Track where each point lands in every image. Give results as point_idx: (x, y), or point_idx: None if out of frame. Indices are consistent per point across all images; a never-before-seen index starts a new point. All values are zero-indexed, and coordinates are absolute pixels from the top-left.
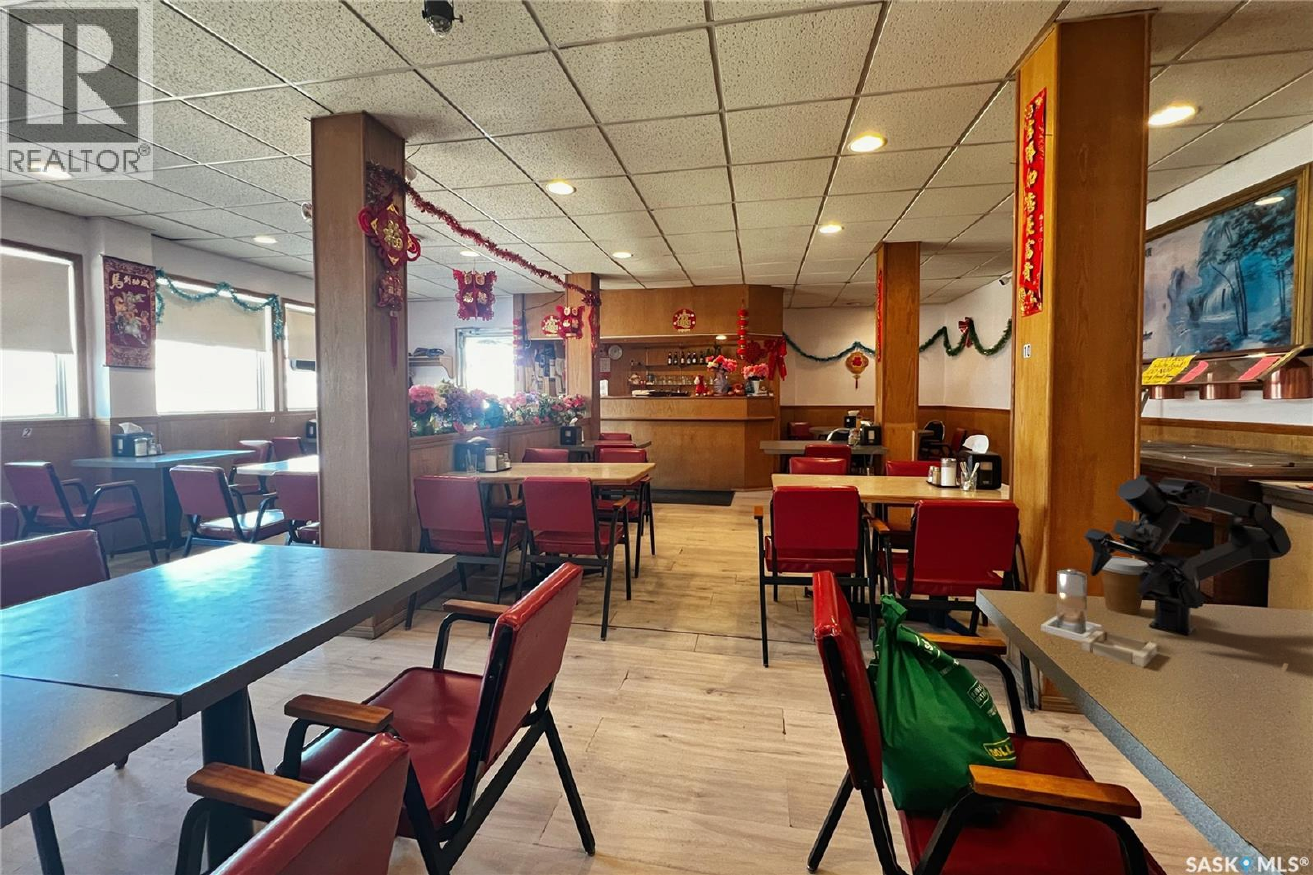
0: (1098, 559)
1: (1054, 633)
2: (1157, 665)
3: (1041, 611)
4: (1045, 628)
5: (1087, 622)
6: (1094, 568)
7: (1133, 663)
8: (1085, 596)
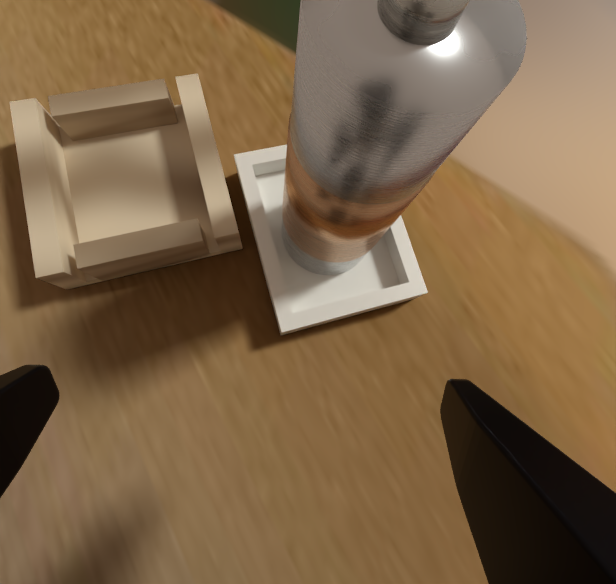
0: (587, 549)
1: None
2: None
3: (517, 355)
4: None
5: (323, 308)
6: (482, 417)
7: (67, 135)
8: (288, 140)
